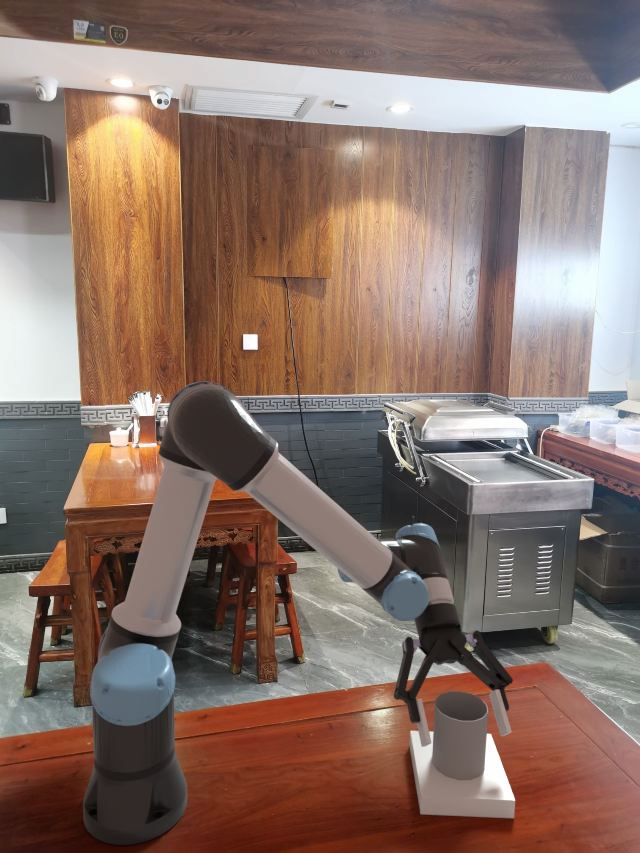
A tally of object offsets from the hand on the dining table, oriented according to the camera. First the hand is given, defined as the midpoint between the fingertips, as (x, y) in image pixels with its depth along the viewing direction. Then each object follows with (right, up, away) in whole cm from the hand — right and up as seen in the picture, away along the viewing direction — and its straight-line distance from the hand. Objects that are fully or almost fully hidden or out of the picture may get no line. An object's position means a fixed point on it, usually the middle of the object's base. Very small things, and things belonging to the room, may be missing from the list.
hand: (467, 739), depth 102 cm
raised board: (-1, -8, +4) cm, 9 cm away
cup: (-1, -5, +3) cm, 6 cm away
